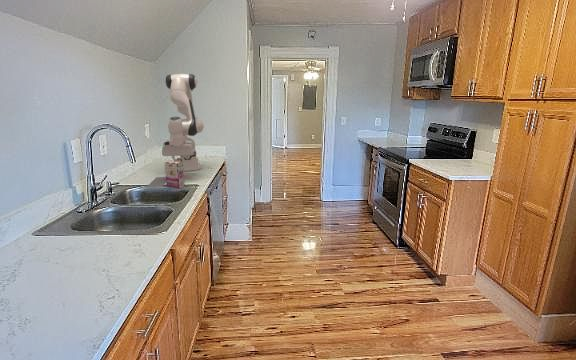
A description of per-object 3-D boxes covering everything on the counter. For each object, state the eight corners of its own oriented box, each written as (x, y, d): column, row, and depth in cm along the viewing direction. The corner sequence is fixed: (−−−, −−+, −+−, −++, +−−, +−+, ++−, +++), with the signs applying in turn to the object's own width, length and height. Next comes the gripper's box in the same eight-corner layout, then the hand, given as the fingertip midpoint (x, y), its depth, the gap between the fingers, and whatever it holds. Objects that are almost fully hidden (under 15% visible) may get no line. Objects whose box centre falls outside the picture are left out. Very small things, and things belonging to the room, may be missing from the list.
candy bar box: (185, 187, 210) (183, 161, 206) (179, 189, 206) (177, 163, 202) (172, 185, 215) (170, 160, 211) (166, 186, 211) (163, 161, 207)
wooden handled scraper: (176, 162, 229) (175, 158, 229) (184, 162, 230) (184, 157, 229) (171, 167, 213) (170, 162, 212) (180, 167, 214) (180, 162, 213)
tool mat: (156, 178, 233) (156, 177, 233) (170, 177, 235) (170, 176, 234) (147, 187, 210) (146, 186, 210) (163, 186, 212) (163, 185, 211)
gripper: (193, 140, 225) (195, 160, 228) (162, 141, 222) (164, 161, 226) (192, 142, 219) (194, 162, 222) (160, 142, 216) (162, 163, 219)
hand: (178, 162), depth 224 cm, fingers closed on wooden handled scraper, 3 cm apart
